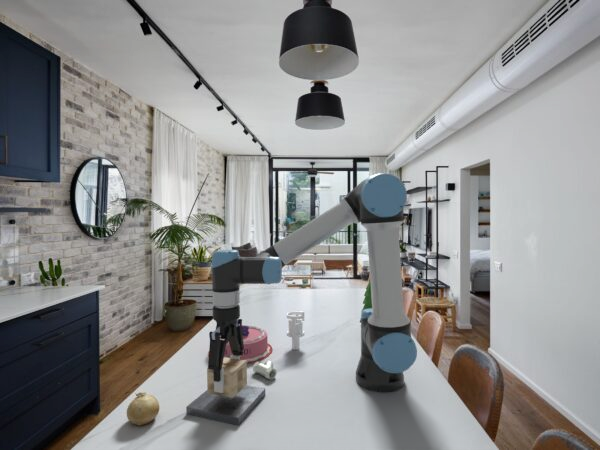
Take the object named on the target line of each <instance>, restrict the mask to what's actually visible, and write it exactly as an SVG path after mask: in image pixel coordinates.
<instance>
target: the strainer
mask: <svg viewBox="0 0 600 450" xmlns="http://www.w3.org/2000/svg"><path fill="white" fill-rule="evenodd" d="M286 318H287V319H289V320H288V330H287V331H286V336H287V337H289V338H291V349H292V350H295V351H296V350H300V343H301V342H300V338H303V337H304V336H305V330H303V325H304V324H303V322H305V310H304V311H301V310H297V311H290V312H289V311H288V312H287V313H286Z"/></svg>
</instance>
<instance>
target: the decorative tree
mask: <svg viewBox="0 0 600 450" xmlns="http://www.w3.org/2000/svg"><path fill="white" fill-rule="evenodd" d="M365 287H366V288H365V292H364V295H363V297H364V299H363V301H362V304H363V305H364V306H363V307H362V309H361V312H360V314H361V313H362V311H363V310H365V309H370V308H372V297H371V282H370V280H369V282H368V284H367V285H366V286H365ZM359 323H360V324H361V320H359Z"/></svg>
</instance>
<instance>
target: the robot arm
mask: <svg viewBox="0 0 600 450" xmlns="http://www.w3.org/2000/svg"><path fill="white" fill-rule="evenodd" d="M407 198H408V192H407V189H406V186H405V183H403V181H402V180H401V179H399V178H398V177H397V176H395V175H394V174H391V173H386V172H385V173H384V172H383V173H382V172H381V173H375V174H374V173H373V174H372V175H370V176H368V177H367V178H365V179H364V180H362V181H361V182H359V184H357V186H355V187H354V188H353V189H352V190H350V191H349V192H348V193H347V194H345V195H344V196H342V197H341V198H340V202H339V203H337V204H335V205H334V206H332V207H330V208H328V209H327V210H326V211H324V212H323V213H321V214H320V215H318V216H317V217H315V218H314V219H312V220H310V221H309V222H307V223H306V224H303V226H301V227H299V228H298V229H296V230H294V231H293V232H291V233H289V234H287V236H285V237H283V238H282V239H281V240H279V241H277V242H275V243H274V244H273V245H271V246H269V247H267V249H264V250H262V251H260V252H259V253H257V254H256V256H248V257H247V256H241V255H240V251H239V250H237V249H218V250H215V251H214V252H213V253H212V256H211V257H212V258H211V266H210V268H211V283H212V284H211V285H212V289H211V290H212V305H213V306H212V319H213V321H215V322H216V325H215V330H213V331H209V350H208V352H209V357H208V362H207V363H208V364H207V368H208V369H210V370H213V373H214V392H219V393H223V392H224V368H222V364H223V359H224V354H225V348H226V344H227V343H228V341H229V345H230V348H231V352H232V354H233V355H231V356H230V358H232V359H239V360H240V355H243V352H242V351H243V350H244V344H243V334H242V325H243V319H242V318H240V317H241V311H240V310H241V306H240V305H239V304H240V303H241V301H240V300H241V296H240V295H241V294H240V285H241V284H242V285H245V284H246V285H252V284H253V285H257V284H259V285H260V284H261V285H273V284H274V285H275V284H279V283H281V282H282V279H283V278H282V275H283V273H282V272H283V269H282V268H283V267H285V266H286V265H288V264H289V263H291V262H292V261H294V260H296V259H297V258H299V257H300V256H302V255H304V254H305V253H307V252H309V251H310V250H312V249H314V248H315V247H317V246H319V244H321V243H323V242H325V241H326V240H328V239H329V238H331V237H333V236H334V235H336V234H337V233H339V232H342V231H343V230H344V229H346V228H347V227H349V226H350V225H351V224H357V225H358V224H359V223H360V226H362V227H364V228H365V230H366V237H367V252H368V265H369V266H368V267H369V268H368V269H369V281H370V282H371V297H372V308H370V309H365V310H363V311H362V310H361V311H362V313H361V312H360V320H361V323H360V352H361V354H360V358H359V361H358V363H357V366H356V370H355V380H356V382H357V384H358V385H359V386H361V387H362V388H364V389H367V390H370V391H373V392H374V391H375V392H382V393H385V392H386V393H387V392H394V391H398V390H400V389H401V388H403V386H404V385H405V384H404V383H405V377H404V372H406V371H407V370H410V368H411V366H413V365H414V364H415V362H416V360H417V358H418V357H417V356H418V349H417V345H416V342H415V341H414V339H413V338H412V329H411V327H412V325H411V319H410V317H409V316H408V315H406V314H405V308H404V294H403V293H404V291H403V280H402V279H403V278H402V264H401V263H402V262H401V248H400V247H401V245H400V233H399V231H400V230H399V228H400V226H401V225H402V224H403V223H404V208H405V205H406V203H407ZM360 320H359V321H360ZM220 338H221V339H225V340H220ZM239 345H240V346H239ZM241 350H242V351H241ZM218 364H219V365H218Z"/></svg>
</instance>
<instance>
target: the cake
mask: <svg viewBox="0 0 600 450" xmlns="http://www.w3.org/2000/svg"><path fill="white" fill-rule="evenodd" d="M242 334H243V344H244V350H243V351H242V350H241V351H242V352H243V355H240V360H246V361H247V365H248V364H253V363H254V364H255V363H256V362H257V361H258V362H260V361H263V360H265V359H266V358H268V357H270V356H271V355H272V353H273V351H274V350H273V347H272V345H271V344H269V343H268V333H267V332H266V330H265V329H263V328H261V327H257V326H252V325H245V324H244V325H243V324H242ZM220 340H225V339H221V338H220ZM239 346H240V345H239ZM270 354H271V355H270ZM231 355H233V354H232V352H231V348H230V345H229V341H228V343H227V344H226V348H225V354H224V357H226V358H230V356H231ZM269 355H270V356H269ZM207 356H208V358H209V351H208V352H207Z"/></svg>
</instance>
